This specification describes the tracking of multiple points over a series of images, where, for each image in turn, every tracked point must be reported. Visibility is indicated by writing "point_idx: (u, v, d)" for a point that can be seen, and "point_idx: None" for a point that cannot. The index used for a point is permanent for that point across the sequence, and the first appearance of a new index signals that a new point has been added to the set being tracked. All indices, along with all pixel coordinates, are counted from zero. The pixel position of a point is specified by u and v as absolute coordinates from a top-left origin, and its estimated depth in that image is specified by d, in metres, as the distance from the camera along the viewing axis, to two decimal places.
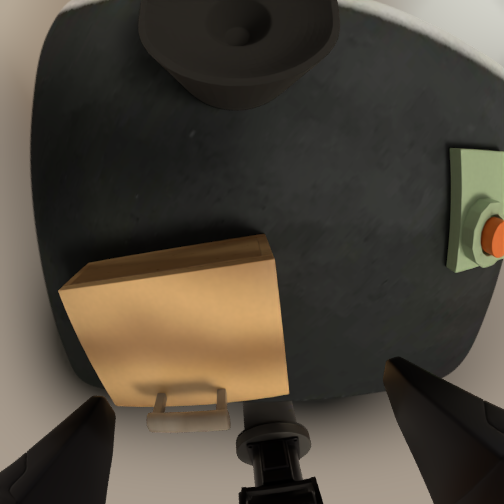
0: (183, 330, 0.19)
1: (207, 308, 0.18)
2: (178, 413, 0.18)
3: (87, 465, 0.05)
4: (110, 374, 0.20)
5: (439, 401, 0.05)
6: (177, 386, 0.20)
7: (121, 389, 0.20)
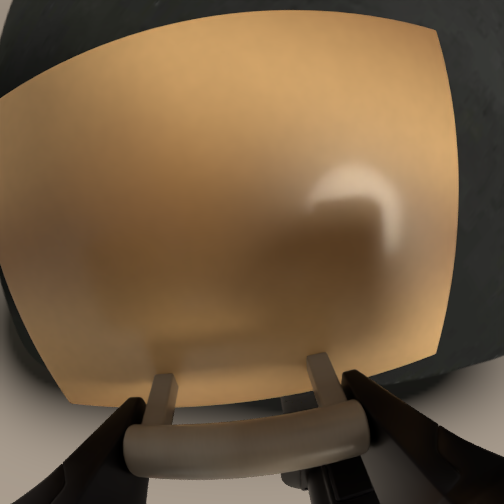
0: (245, 163, 0.07)
1: (317, 98, 0.06)
2: (217, 427, 0.06)
3: (129, 472, 0.05)
4: (48, 325, 0.08)
5: (387, 422, 0.05)
6: (205, 353, 0.08)
7: (74, 365, 0.08)
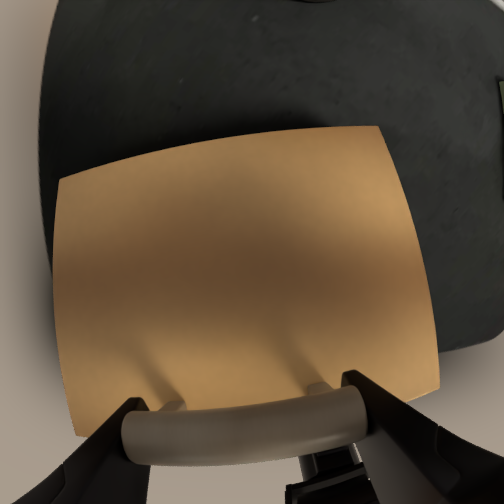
0: (251, 226, 0.11)
1: (296, 183, 0.11)
2: (218, 408, 0.07)
3: (129, 472, 0.05)
4: (81, 347, 0.10)
5: (386, 422, 0.05)
6: (216, 380, 0.09)
7: (93, 390, 0.09)
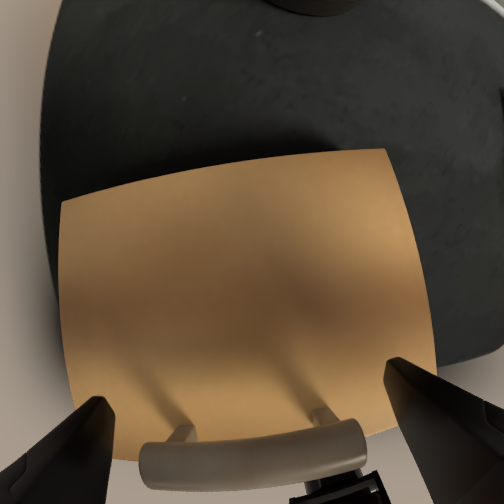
0: (258, 257, 0.11)
1: (302, 213, 0.11)
2: (228, 439, 0.07)
3: (87, 465, 0.05)
4: (91, 373, 0.10)
5: (439, 401, 0.05)
6: (224, 406, 0.09)
7: None
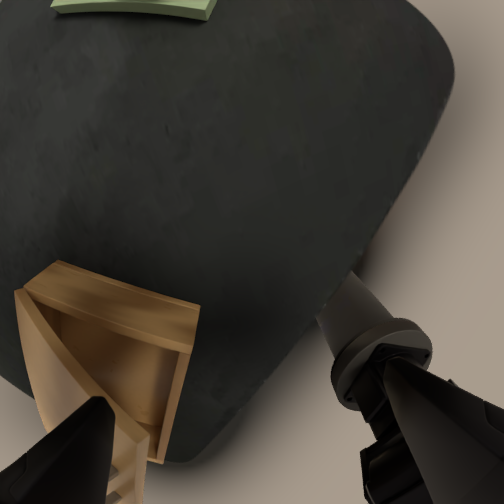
0: (52, 406, 0.13)
1: (37, 372, 0.13)
2: None
3: (87, 465, 0.05)
4: None
5: (439, 401, 0.05)
6: None
7: None
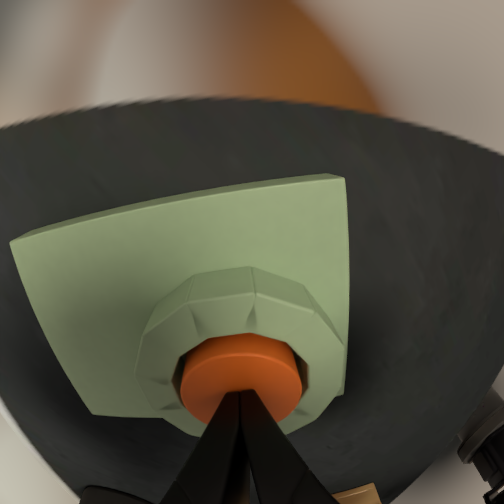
0: None
1: None
2: None
3: (243, 473, 0.05)
4: None
5: (253, 453, 0.05)
6: None
7: None
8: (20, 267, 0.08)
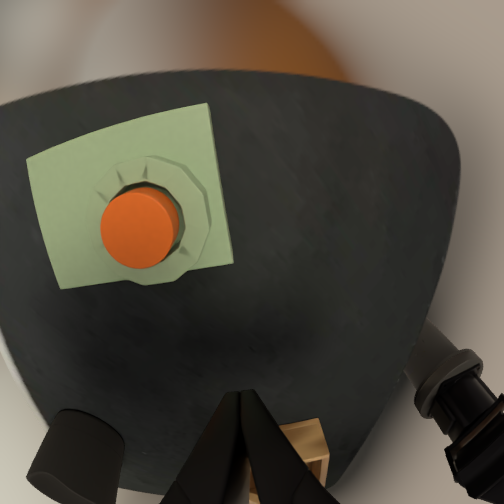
0: None
1: None
2: None
3: (242, 474, 0.05)
4: None
5: (253, 453, 0.05)
6: None
7: None
8: (30, 173, 0.13)
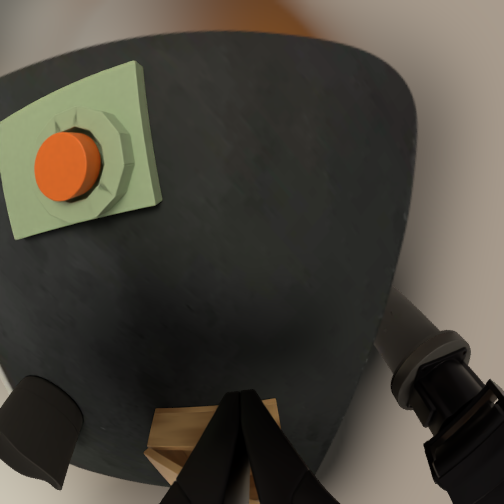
0: None
1: None
2: None
3: (242, 474, 0.05)
4: None
5: (253, 453, 0.05)
6: None
7: None
8: None
